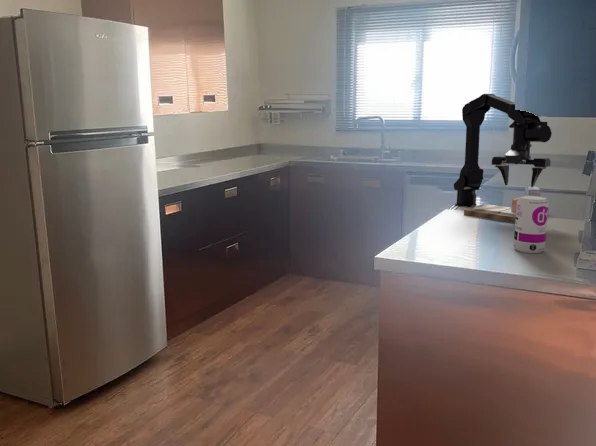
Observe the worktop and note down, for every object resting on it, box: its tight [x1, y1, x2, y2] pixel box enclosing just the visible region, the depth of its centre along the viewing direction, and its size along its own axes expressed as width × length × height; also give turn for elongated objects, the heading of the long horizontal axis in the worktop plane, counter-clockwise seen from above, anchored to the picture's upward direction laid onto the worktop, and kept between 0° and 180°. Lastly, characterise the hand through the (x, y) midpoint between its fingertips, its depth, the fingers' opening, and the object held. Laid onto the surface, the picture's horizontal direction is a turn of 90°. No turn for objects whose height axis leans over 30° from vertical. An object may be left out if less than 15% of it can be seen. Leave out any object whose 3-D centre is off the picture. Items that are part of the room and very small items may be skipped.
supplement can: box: [512, 195, 550, 254], centre depth 165 cm, size 8×8×15 cm
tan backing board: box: [463, 203, 516, 224], centre depth 213 cm, size 22×16×3 cm
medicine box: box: [524, 186, 542, 197], centre depth 224 cm, size 8×4×9 cm, turn 168°
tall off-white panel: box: [500, 196, 520, 216], centre depth 209 cm, size 6×11×5 cm, turn 137°
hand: (519, 186), depth 208 cm, fingers open, 9 cm apart
